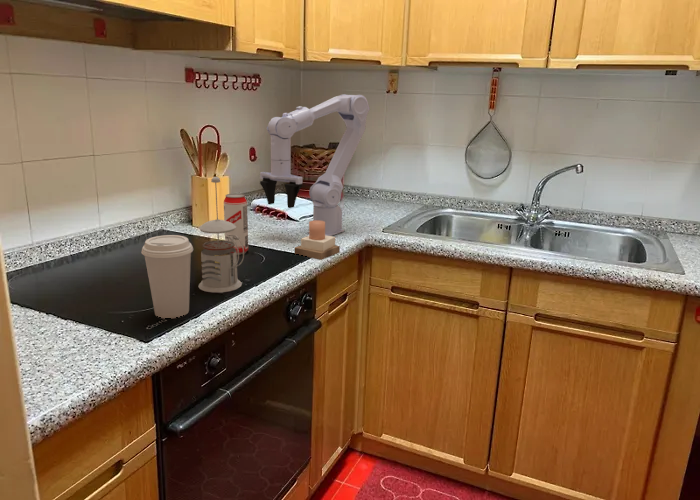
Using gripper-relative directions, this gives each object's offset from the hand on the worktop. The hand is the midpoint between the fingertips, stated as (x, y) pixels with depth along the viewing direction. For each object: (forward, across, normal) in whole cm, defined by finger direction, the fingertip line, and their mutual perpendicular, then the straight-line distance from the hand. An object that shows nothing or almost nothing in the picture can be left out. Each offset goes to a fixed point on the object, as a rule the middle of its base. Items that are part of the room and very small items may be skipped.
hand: (280, 205), depth 159 cm
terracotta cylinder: (+6, +17, -5) cm, 19 cm away
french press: (+11, +15, -39) cm, 43 cm away
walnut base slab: (+11, +17, -5) cm, 21 cm away
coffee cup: (+11, +18, -56) cm, 60 cm away
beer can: (+11, -1, -18) cm, 21 cm away
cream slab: (+9, +17, -4) cm, 20 cm away
